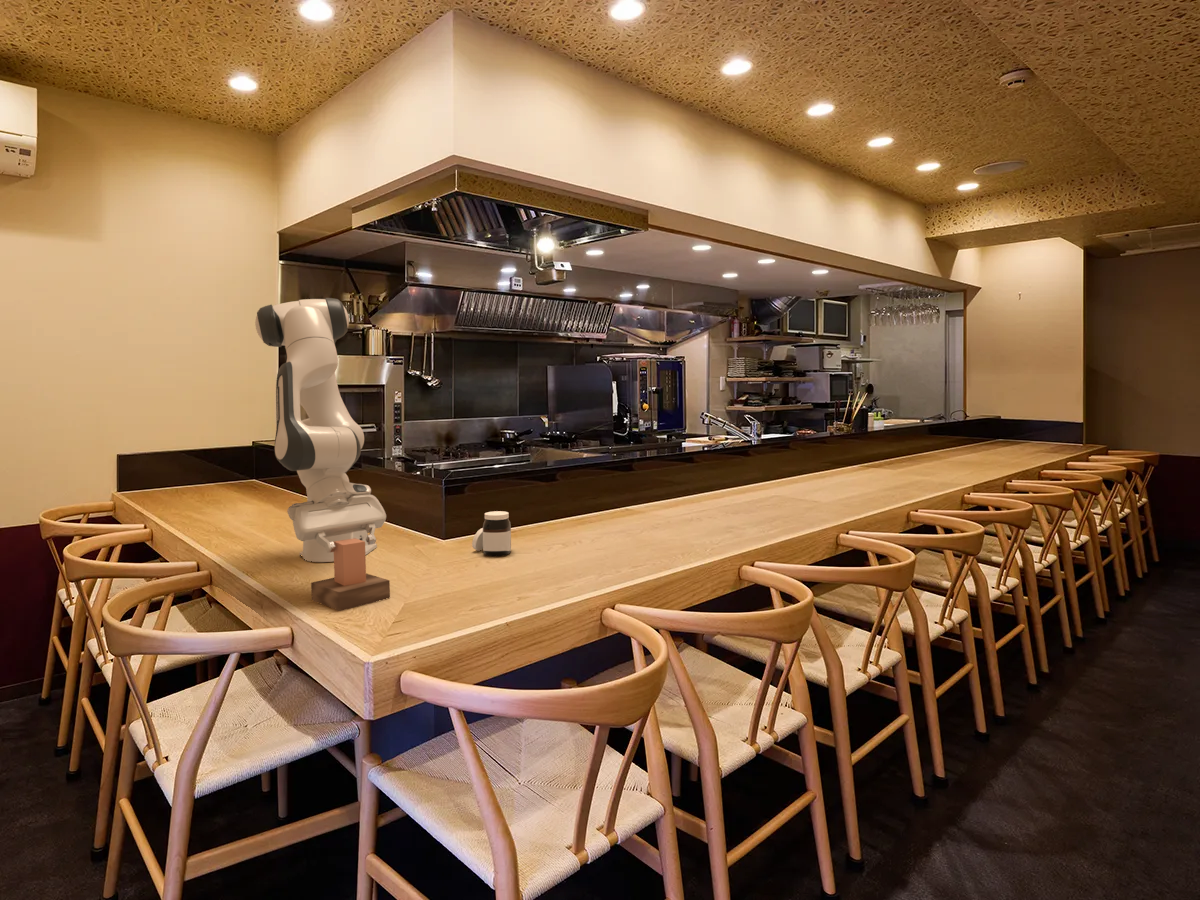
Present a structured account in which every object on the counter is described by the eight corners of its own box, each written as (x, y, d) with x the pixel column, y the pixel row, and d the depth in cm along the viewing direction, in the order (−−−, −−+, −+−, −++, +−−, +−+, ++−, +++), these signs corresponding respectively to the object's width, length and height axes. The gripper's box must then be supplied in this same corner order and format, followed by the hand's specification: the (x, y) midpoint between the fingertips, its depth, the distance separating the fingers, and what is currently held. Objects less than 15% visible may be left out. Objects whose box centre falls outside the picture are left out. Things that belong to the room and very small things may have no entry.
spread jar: (508, 557, 192) (507, 516, 191) (467, 557, 192) (466, 516, 191) (514, 548, 204) (513, 509, 203) (476, 548, 204) (475, 509, 203)
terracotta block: (334, 581, 153) (333, 541, 153) (356, 577, 157) (355, 538, 156) (344, 585, 150) (342, 545, 149) (366, 581, 153) (365, 541, 153)
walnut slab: (311, 602, 153) (311, 582, 153) (361, 590, 162) (360, 571, 162) (340, 613, 145) (339, 592, 145) (390, 599, 155) (389, 580, 154)
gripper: (288, 496, 151) (309, 547, 145) (375, 484, 165) (398, 530, 159) (281, 514, 154) (302, 564, 148) (367, 501, 169) (389, 546, 163)
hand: (352, 546), depth 154 cm, fingers open, 8 cm apart
